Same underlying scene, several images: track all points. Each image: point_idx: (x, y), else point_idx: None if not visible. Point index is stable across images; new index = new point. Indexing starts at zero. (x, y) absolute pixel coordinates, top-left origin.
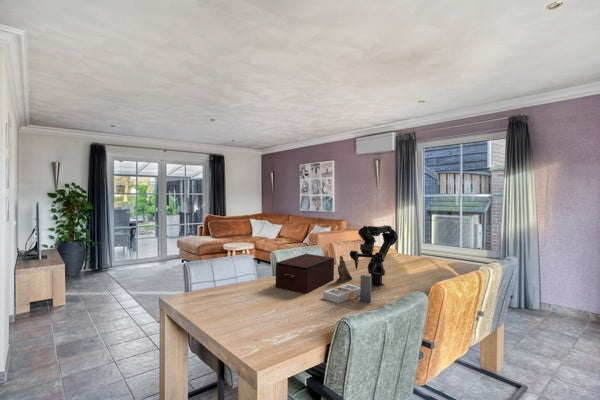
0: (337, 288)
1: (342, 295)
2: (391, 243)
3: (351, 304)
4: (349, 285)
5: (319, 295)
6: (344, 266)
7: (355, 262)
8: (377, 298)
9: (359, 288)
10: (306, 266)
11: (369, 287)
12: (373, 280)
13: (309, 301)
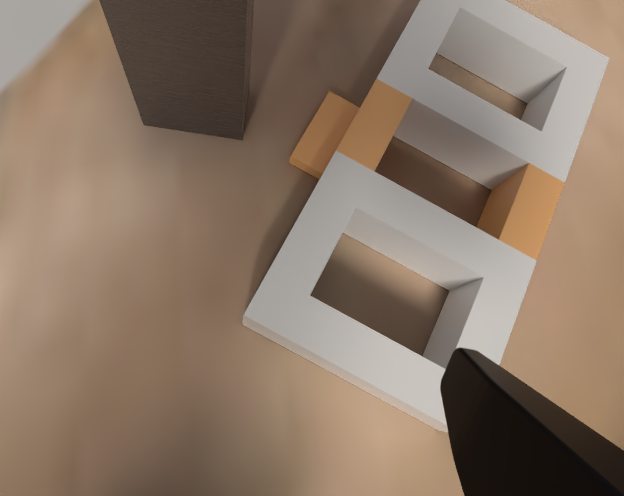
0: (522, 189)
1: (415, 9)
2: None
3: (311, 6)
4: (429, 361)
5: (614, 154)
6: None
7: (617, 459)
8: (70, 222)
9: (285, 266)
10: None
11: None
12: None
13: (617, 7)
